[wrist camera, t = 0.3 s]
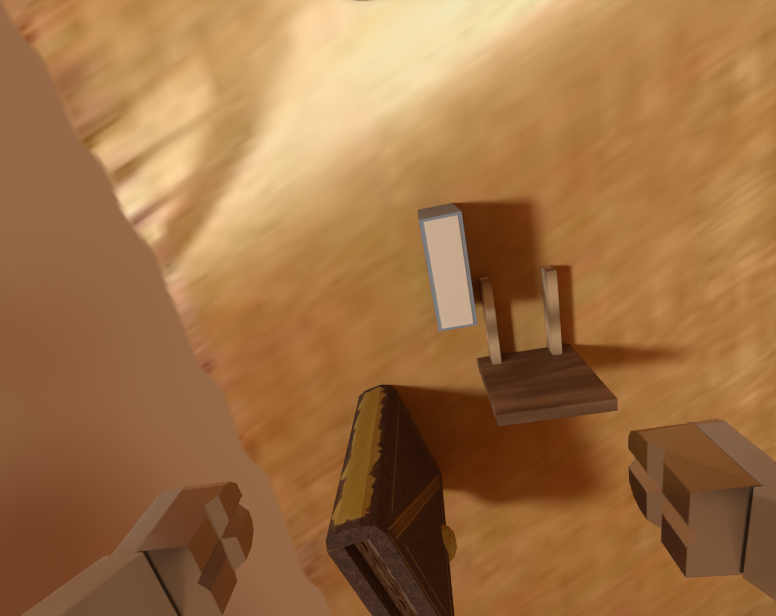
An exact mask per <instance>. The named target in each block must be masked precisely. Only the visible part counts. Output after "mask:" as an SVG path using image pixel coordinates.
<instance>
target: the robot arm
mask: <svg viewBox="0 0 776 616" xmlns="http://www.w3.org/2000/svg"><path fill="white" fill-rule="evenodd" d="M628 448H629V450H630V451H631V452H632V454H633V455H634V456H635V460H634V461H633V462H632V463H631V465H630V466H629V482H630V485H631V489H632V492H633V496H634V498H635V500H636V502H637V504H638V506H639V508H640V510H641V511H642V513H643V515H644V516H645V518H646V519H647V520H648V521H650V522H652V523H653V524H655V525H657V526H658V527H660V528H661V529H662V530H661V542H662V543H663V545H664V546H665V548H666V549H667V551H668V552H669V554H670V555H671V556H672V558H673V559H674V561H675V562H676V564H677V565H678V567H679V568H680V570H681V571H682V573H683V574H684V576H685V577H686V578H688V577H707V576H726V575H743V578H744V579H746V580H747V581H748V582H750V583H751V584H753V585H754V586H756V587H757V588H758V589H760V590H761V591H763V592H764V593H766V594H767V595H768V596H770V597H771V598H773V599H774V600H776V462H775V461H774V460H773V459H772V458H770V457H769V456H768V455H767V454H765V453H764V452H763V451H762V450H760V449H759V448H758V447H757V446H755V445H754V444H753V443H752V442H750V441H749V440H748V439H747V438H745V437H744V436H743V435H742V434H740V433H739V432H738V431H737V430H735V429H734V428H733V427H732V426H730V425H729V424H728V423H727V422H725V421H723V420H720V419H717V418H716V419H709V420H702V421H695V422H689V423H687V424H679V425H671V426H664V427H656V428H648V429H641V430H633V431H631V432H630V435H629V437H628ZM241 497H242V494H241V492H240V490H239V488H238V485H237V484H236V483H234V482H230V481H229V482H220V483H209V484H199V485H189V486H184V487H174V488H168V489H166V490H164V491H162V492H161V493H160V494H159V495H158V496H157V498H156V499H155V500H154V502H153V503H152V504H151V506H150V507H149V508H148V509H147V510H146V512H145V513H144V514H143V516H142V517H141V518H140V519H139V521H138V522H137V523H136V525H135V526H134V527H133V528H132V530H131V531H130V532H129V534H128V535H127V536H126V537H125V539H124V540H123V541H122V542H121V544H120V545H119V546H118V548H117V549H116V550H115V551H114V553H113V554H112V555H111V556H104V557H102V558H101V559H100V560H98V561H97V562H95V563H94V564H93V565H91V566H90V567H88V568H87V569H86V570H84V571H83V572H82V573H80V574H79V575H77V576H76V577H74V578H73V579H72V580H70V581H69V582H67V583H66V584H65V585H63V586H62V587H61V588H59V589H58V590H56V591H55V592H54V593H52V594H51V595H49V596H48V597H46V598H45V599H44V600H42V601H41V602H39V603H38V604H37V605H35V606H34V607H32V608H31V609H30V610H28V611H27V612H25V613H24V614H23V615H21V616H222V615H223V613H224V611H225V608H226V606H227V603H228V601H229V599H230V597H231V594H232V592H233V590H234V587H235V585H236V583H237V578H236V574H235V570H236V569H237V568H238V567H239V566H240V565H241V564H242V563H243V562H244V561H245V560H246V559H247V557H248V554H249V552H250V549H251V547H252V540H253V532H254V530H253V522H252V518H251V516H250V513H249V511H248V510H247V509H245V508H244V507H242V506H241V505H240V504H239V502H240V499H241Z"/></svg>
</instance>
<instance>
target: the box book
mask: <svg viewBox="0 0 776 616" xmlns="http://www.w3.org/2000/svg"><path fill="white" fill-rule="evenodd" d="M418 217H419V223H420V229H421V235H422V240H423V246H424V252H425V257H426V263H427V269H428V274H429V280H430V285H431V291H432V297H433V302H434V308H435V314H436V319H437V325H438V331H444V330H450V329H456V328H462V327H469V326H475V325H478V324H477V317H476V310H475V303H474V296H473V289H472V282H471V275H470V268H469V261H468V254H467V247H466V240H465V233H464V226H463V219H462V211H461V210H459V209H458V208H457V207H456V206H455V205H454V204H453V203H450V204H445V205H440V206H436V207H431V208H426V209H421V210H418Z"/></svg>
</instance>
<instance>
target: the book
mask: <svg viewBox="0 0 776 616" xmlns="http://www.w3.org/2000/svg"><path fill="white" fill-rule="evenodd" d="M326 546H327V552H328V554H329V555H330V557H331V558H332V559H333V561H334V562H335V564H336V565H337V567H338V568H339V569H340V571H341V572H342V574H343V575H344V576H345V578H346V579H347V581H348V582H349V584H350V585H351V586H352V588H353V589H354V591H355V592H356V594H357V595H358V596H359V598H360V599H361V601H362V602H363V603H364V605H365V606H366V608H367V609H368V611H369V612H370V613H371V615H372V616H454V607H453V596H452V585H451V574H450V564H449V562H450V561H451V560H452V559H453V558H454V556H455V553H456V549H457V546H456V538H455V534H454V532H453V531H452V529H451V528H450V527H448V526H446V521H445V510H444V499H443V489H442V478H441V472H440V470H439V468H438V466H437V465H436V463H435V461H434V459H433V457H432V455H431V453H430V452H429V450H428V448H427V446H426V444H425V442H424V440H423V439H422V437H421V435H420V433H419V431H418V429H417V427H416V426H415V424H414V422H413V420H412V418H411V416H410V414H409V413H408V411H407V409H406V407H405V405H404V403H403V401H402V400H401V398H400V396H399V394H398V392H397V390H395V389H394V388H393V387H392V386H391V385H379V386H377V387H374V388H372V389H369V390H366V391H365V392H364V393H363V394H362V395H361V396H359V400H358V404H357V409H356V413H355V417H354V422H353V426H352V430H351V435H350V439H349V443H348V448H347V452H346V456H345V461H344V465H343V469H342V473H341V478H340V482H339V486H338V491H337V495H336V499H335V504H334V508H333V512H332V517H331V521H330V525H329V530H328V534H327V538H326Z"/></svg>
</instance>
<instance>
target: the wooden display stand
mask: <svg viewBox="0 0 776 616" xmlns="http://www.w3.org/2000/svg"><path fill="white" fill-rule="evenodd" d="M541 274H542V286H543V299H544V311H545V324H546V336H547V348H541V349H534V350H528V351H521V352H515V353H508V354H502V355H500V347H499V338H498V330H497V322H496V314H495V306H494V298H493V290H492V282H491V280H490V279H489V277H483V278H479V282H480V289H481V296H482V304H483V311H484V319H485V326H486V334H487V341H488V348H489V357H483V358H477V361H478V367H479V370H480V374H481V377H482V380H483V383H484V386H485V389H486V392H487V395H488V398H489V401H490V404H491V407H492V410H493V413H494V416H495V419H496V422H497V425H498V426H504V425H512V424H519V423H527V422H534V421H542V420H549V419H557V418H565V417H572V416H580V415H587V414H595V413H602V412H610V411H617V410H618V407H617V398H616V397H615V396H614V394H613V393H612V392H611V391H610V390H609V389H608V388H607V387H606V385H605V384H604V383H603V382H602V381H601V380H600V379H599V377H598V376H597V375H596V374H595V373H594V372H593V371H592V370H591V368H590V367H589V366H588V365H587V364H586V363H585V362H584V360H583V359H582V358H581V357H580V356H579V355H578V354H577V353H576V351H575V350H574V349H573V348H572V347H571V346H570V345H569V344H567V345H562V342H561V327H560V312H559V297H558V282H557V270H556V269H555V268H553V267H552V266H544V267H541Z"/></svg>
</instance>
